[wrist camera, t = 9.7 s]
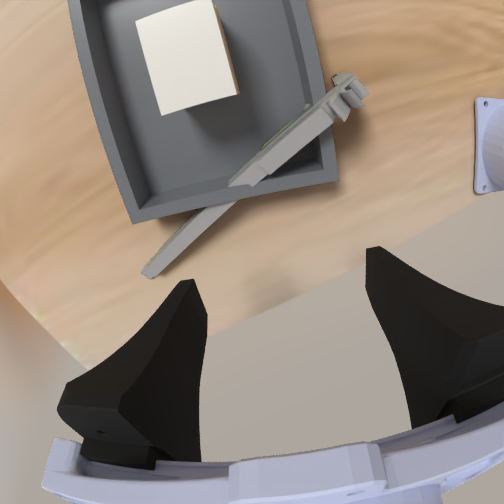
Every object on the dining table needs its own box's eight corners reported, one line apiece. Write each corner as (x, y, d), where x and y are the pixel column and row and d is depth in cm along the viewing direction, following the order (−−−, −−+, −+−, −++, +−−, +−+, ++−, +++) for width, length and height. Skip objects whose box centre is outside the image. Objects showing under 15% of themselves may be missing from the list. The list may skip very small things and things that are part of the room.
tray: (274, -62, 11) (278, -81, 8) (326, 166, 19) (338, 180, 17) (87, -6, 12) (65, -15, 9) (146, 205, 20) (132, 224, 18)
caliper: (334, 72, 16) (371, 69, 11) (345, 84, 17) (386, 87, 11) (141, 269, 24) (116, 323, 18) (151, 276, 24) (130, 331, 19)
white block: (220, 17, 14) (211, -6, 9) (240, 92, 16) (238, 95, 12) (162, 34, 14) (133, 20, 10) (182, 107, 17) (160, 117, 12)
